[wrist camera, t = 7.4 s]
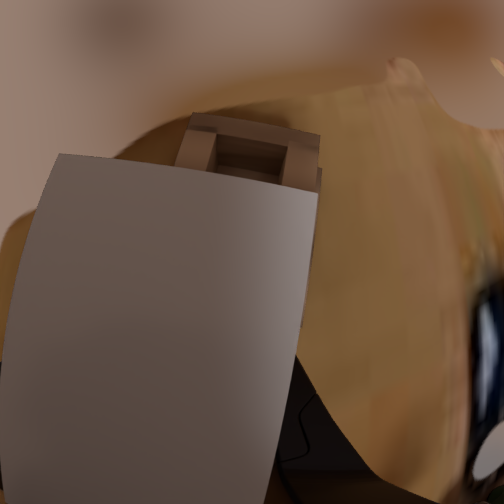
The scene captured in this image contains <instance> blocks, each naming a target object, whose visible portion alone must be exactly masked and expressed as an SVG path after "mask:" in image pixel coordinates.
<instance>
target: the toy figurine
mask: <svg viewBox="0 0 504 504" xmlns="http://www.w3.org/2000/svg"><path fill="white" fill-rule="evenodd" d="M487 503H489V504H504V485H502V486H499V487H497V488H496V489H494V490H493V491H492V493H491V494H490V495H489V498H488V501H487Z"/></svg>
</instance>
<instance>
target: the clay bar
mask: <svg viewBox="0 0 504 504" xmlns="http://www.w3.org/2000/svg"><path fill="white" fill-rule="evenodd" d="M317 199H318V193H313V192H309V191H304V190H300V189H295V188H290V187H286V186H281V185H276V184H271V183H266V182H261V181H256V180H250V179H245V178H240V177H234V176H229V175H223V174H217V173H211V172H205V171H199V170H193V169H186V168H180V167H173V166H166V165H159V164H152V163H144V162H137V161H129V160H120V159H111V158H102V157H93V156H82V155H71V154H59V155H58V157H57V159H56V161H55V164H54V166H53V168H52V171H51V173H50V176H49V178H48V180H47V183H46V185H45V188H44V190H43V193H42V196H41V198H40V201H39V204H38V206H37V209H36V212H35V215H34V218H33V221H32V224H31V227H30V230H29V233H28V236H27V239H26V243H25V246H24V250H23V253H22V257H21V260H20V264H19V268H18V272H17V276H16V280H15V284H14V289H13V293H12V298H11V303H10V308H9V314H8V319H7V325H6V332H5V339H4V346H3V355H2V364H1V375H0V463H1V474H2V483H3V491H4V497H5V502H6V503H8V504H263V503H264V499H265V495H266V491H267V487H268V483H269V479H270V475H271V471H272V466H273V462H274V458H275V453H276V449H277V445H278V440H279V435H280V431H281V426H282V421H283V417H284V412H285V407H286V402H287V397H288V392H289V386H290V381H291V376H292V371H293V365H294V360H295V354H296V348H297V342H298V336H299V330H300V324H301V318H302V312H303V305H304V299H305V292H306V285H307V278H308V271H309V264H310V257H311V249H312V241H313V233H314V225H315V216H316V208H317Z"/></svg>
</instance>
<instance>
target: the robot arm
mask: <svg viewBox="0 0 504 504" xmlns="http://www.w3.org/2000/svg"><path fill="white" fill-rule="evenodd" d="M1 364H2V361H1V362H0V375H1ZM0 504H8V503H6V502H5V497H4V491H3V483H2V474H1V463H0ZM263 504H439V503H436V502H434V501H431V500H429V499H426V498H424V497H421V496H419V495H416V494H414V493H411V492H409V491H407V490H404V489H402V488H400V487H397V486H395V485H393V484H391V483H388V482H386V481H385V480H383V479H381V478H380V477H379V476H377V475H376V474H375V473H374V472H373V471H372V470H371V469H370V468H369V467H368V465H367V464H366V463H365V462H364V460H363V459H362V458H361V456H360V455H359V454H358V453H357V451H356V450H355V449H354V447H353V446H352V445H351V443H350V442H349V441H348V439H347V438H346V437H345V435H344V434H343V433H342V431H341V430H340V429H339V427H338V426H337V424H336V423H335V421H334V420H333V419H332V417H331V415H330V414H329V412H328V410H327V409H326V407H325V406H324V404H323V402H322V400H321V399H320V397H319V395H318V394H316V390H315V388H314V386H313V384H312V383H311V381H310V379H309V377H308V376H307V374H306V372H305V370H304V368H303V367H302V365H301V363H300V361H299V359H298V358H297V356H296V354H295V360H294V365H293V371H292V376H291V381H290V386H289V392H288V397H287V402H286V407H285V412H284V417H283V421H282V426H281V431H280V435H279V440H278V445H277V449H276V453H275V458H274V462H273V466H272V471H271V475H270V479H269V483H268V487H267V491H266V495H265V499H264V503H263ZM474 504H489V503H487V502H485V501H481V502H477V503H474Z"/></svg>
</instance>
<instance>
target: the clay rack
mask: <svg viewBox="0 0 504 504" xmlns="http://www.w3.org/2000/svg"><path fill="white" fill-rule="evenodd" d="M319 144H320V135H317V134H312V133H308V132H304V131H299V130H295V129H290V128H285V127H281V126H276V125H271V124H265V123H260V122H254V121H249V120H243V119H237V118H231V117H224V116H217V115H210V114H203V113H195V112H193V113H192V115H191V118H190V121H189V123H188V126H187V129H186V132H185V135H184V137H183V140H182V143H181V146H180V149H179V152H178V155H177V158H176V161H175V164H174V167H180V168H186V169H193V170H199V171H205V172H211V173H217V174H223V175H229V176H234V177H240V178H245V179H250V180H256V181H261V182H266V183H271V184H276V185H281V186H286V187H290V188H295V189H300V190H304V191H309V192H313V193H318V199H317V208H316V216H315V225H314V233H313V241H312V249H311V257H310V264H309V271H308V278H307V285H306V292H305V299H304V305H303V312H302V318H301V324H300V328H301V327H302V324H303V318H304V312H305V305H306V299H307V292H308V285H309V278H310V271H311V263H312V256H313V248H314V240H315V232H316V223H317V214H318V205H319V196H320V186H321V176H322V168H319V167H317V166H318V155H319Z"/></svg>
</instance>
